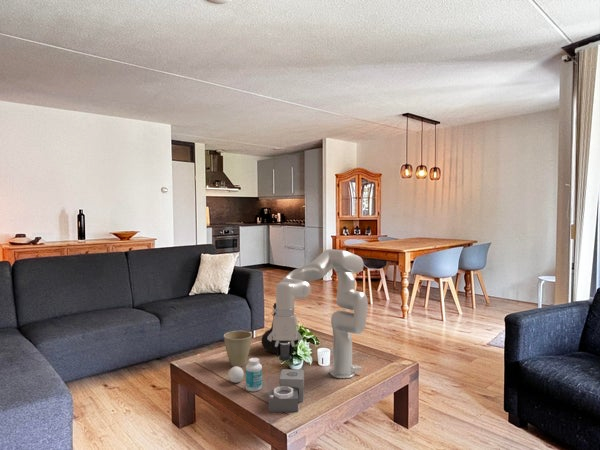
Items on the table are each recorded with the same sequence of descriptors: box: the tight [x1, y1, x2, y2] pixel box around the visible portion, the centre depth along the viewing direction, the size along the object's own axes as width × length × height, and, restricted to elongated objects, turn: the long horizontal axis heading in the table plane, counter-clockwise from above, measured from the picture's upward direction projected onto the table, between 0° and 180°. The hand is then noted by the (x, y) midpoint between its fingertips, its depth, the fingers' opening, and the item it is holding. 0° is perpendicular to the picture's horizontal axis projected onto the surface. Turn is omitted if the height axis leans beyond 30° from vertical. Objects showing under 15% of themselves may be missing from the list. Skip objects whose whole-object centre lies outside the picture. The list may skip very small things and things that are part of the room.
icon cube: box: [279, 368, 305, 403], centre depth 171 cm, size 10×10×10 cm
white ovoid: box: [227, 366, 245, 383], centre depth 186 cm, size 10×7×7 cm
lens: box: [278, 341, 292, 362], centre depth 161 cm, size 5×5×8 cm
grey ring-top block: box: [268, 385, 299, 413], centre depth 162 cm, size 12×8×7 cm, turn 91°
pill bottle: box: [245, 357, 263, 392], centre depth 178 cm, size 8×7×14 cm
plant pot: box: [223, 330, 253, 368], centre depth 206 cm, size 15×15×16 cm
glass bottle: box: [260, 302, 279, 354], centre depth 225 cm, size 18×18×28 cm
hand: (284, 354), depth 161 cm, fingers closed on lens, 5 cm apart
